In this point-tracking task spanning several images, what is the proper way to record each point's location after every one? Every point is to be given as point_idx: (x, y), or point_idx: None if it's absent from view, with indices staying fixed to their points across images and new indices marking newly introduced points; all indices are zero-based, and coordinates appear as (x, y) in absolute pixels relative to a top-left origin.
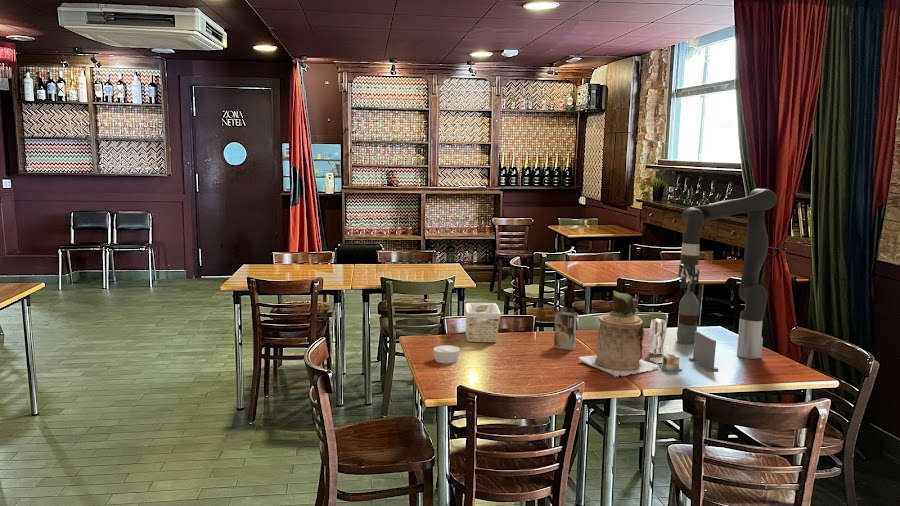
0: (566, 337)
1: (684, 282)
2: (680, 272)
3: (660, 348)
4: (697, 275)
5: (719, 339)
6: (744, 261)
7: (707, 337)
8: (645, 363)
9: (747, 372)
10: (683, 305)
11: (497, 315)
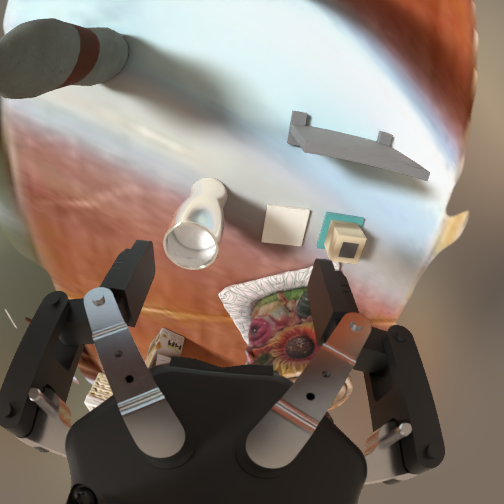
0: None
1: (136, 286)
2: (69, 375)
3: (223, 200)
4: (421, 401)
5: None
6: None
7: (394, 170)
8: (309, 276)
9: (415, 73)
10: (37, 89)
11: None
